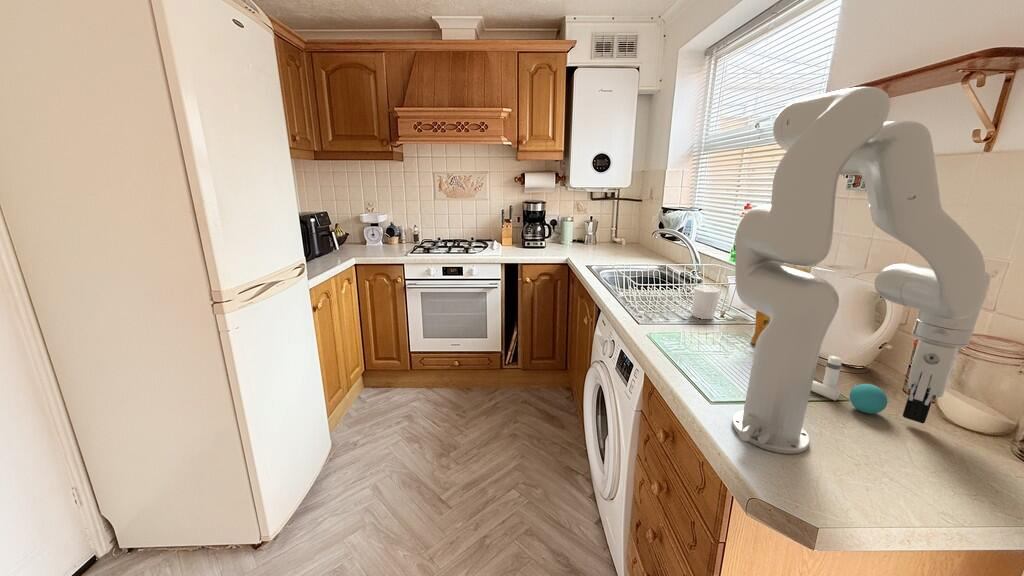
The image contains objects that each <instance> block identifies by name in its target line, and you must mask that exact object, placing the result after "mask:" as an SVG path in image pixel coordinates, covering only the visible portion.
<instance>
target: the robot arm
mask: <svg viewBox="0 0 1024 576" xmlns="http://www.w3.org/2000/svg"><path fill="white" fill-rule="evenodd" d="M890 110H891V98H890V96H889V94H888V93H887V92H886V91H885V90H884V89H881V88H880V87H879V88H878V87H874V86H857V87H851V88H845V89H844V88H843V89H840V90H836V91H831V92H827V93H821V94H819V95H818V94H817V95H814V96H809V97H804V98H801V99H797V100H795V101H792V102H791V103H788V104H787V105H786V106H785V107H783V108H782V109H781V110H780V111H779V112H778V114H777V115H776V117H775V119H774V122H773V128H772V129H773V131H772V132H773V136H774V140H775V142H776V143H777V145H779V147H780V148H782V149H783V150H784V151H785V152H786V153H784V155H783V156H782V158H781V159H780V162H779V163H778V166H777V168H776V170H775V172H774V175H773V180H772V191H771V200H770V204H762V205H759V206H755V207H754V208H752V209H750V210H749V211H748V212H747V213H746V214H745V215H744V216H743V217H742V219H741V221H740V222H739V224H738V226H737V229H736V232H735V233H736V234H735V242H734V244H735V245H734V246H735V250H734V251H735V252H734V255H735V256H734V260H735V261H734V265H735V266H734V267H735V269H734V274H735V275H734V278H735V280H734V282H735V290H736V294H737V297H738V298H739V300H740V301H741V302H742V303H743V304H744V305H745V306H747V307H749V308H751V309H752V310H754V311H759V312H761V313H763V314H765V315H766V316H768V317H770V322H769V324H768V325H767V326H766V328H765V329H764V330H763V331H762V332H761V334H760V335H759V337H758V339H757V342H756V344H755V346H754V352H753V353H754V354H753V359H752V363H751V368H750V369H751V370H750V373H749V380H748V384H747V385H748V386H747V390H746V394H745V395H746V396H745V400H744V401H745V402H744V407H743V410H741V411H738V412H735V414H734V415H733V416H732V420H731V425H732V427H733V430H734V431H735V432H736V434H738V437H739V438H740V440H742V441H743V442H749V443H750V444H752V445H753V446H756V447H758V448H760V449H764V450H765V451H770V452H774V453H778V454H783V455H784V454H789V455H794V454H800V453H803V452H805V451H807V449H809V446H810V443H811V441H810V436H809V434H808V432H807V431H806V430H805V429H804V428H803V425H804V421H805V416H806V413H807V408H808V403H809V400H810V396H811V392H812V391H811V387H812V383H813V380H814V379H815V374H816V370H817V369H816V368H817V365H818V364H817V363H818V361H819V357H820V353H821V349H822V345H823V343H824V340H825V338H826V335H827V333H828V330H829V329H830V326H831V325H832V324H833V321H834V319H835V317H836V315H837V313H838V309H839V306H840V298H839V294H838V291H837V290H836V288H835V287H834V286H833V285H832V284H831V283H830V282H829V281H827V280H825V279H824V278H823V277H820V276H818V275H817V274H816V275H813V274H810V273H807V272H804V271H800V270H797V269H794V268H790V267H786V266H784V263H785V264H789V265H794V266H801V267H806V266H813V265H816V266H817V265H818V264H820V263H822V261H824V260H825V259H826V258H827V257H828V255H829V253H830V251H831V247H832V242H833V234H834V222H835V209H836V208H835V207H836V195H837V188H838V187H837V186H838V181H839V178H840V175H841V176H862V177H863V180H864V181H863V182H864V185H865V190H866V193H867V199H868V206H869V212H870V216H871V221H872V222H873V224H874V225H875V227H878V228H879V230H882V231H883V232H884V233H885V234H887V235H889V236H890V237H892V238H893V239H895V240H898V241H899V242H901V243H903V244H904V245H906V246H908V247H909V248H911V249H912V250H913V251H915V252H916V253H918V254H919V255H920V256H921V257H922V258H923V259H924V260H925V261H926V262H927V263H928V265H921V264H916V263H908V262H906V263H903V262H902V263H896V264H891V265H889V266H887V267H885V268H883V269H881V271H880V272H878V273H877V275H876V277H875V279H874V285H873V286H874V288H875V291H876V292H877V294H878V295H879V296H880V297H882V299H884V300H887V301H889V302H891V303H894V304H897V305H899V306H904V307H907V308H909V309H912V310H913V309H914V310H917V314H916V317H915V320H914V325H913V328H912V331H911V336H913V338H914V339H915V338H916V339H918V341H917V345H916V348H915V351H914V355H913V359H912V361H911V366H910V371H909V375H908V380H907V388H908V389H909V390H911V391H910V395H908V398H907V400H906V403H905V407H904V409H903V413H902V417H903V418H905V419H908V420H912V421H914V422H916V423H917V422H918V423H920V424H925V423H926V420H927V417H928V414H929V411H930V408H931V406H932V402H931V400H932V397H933V396H936V398H938V399H939V398H943V397H944V395H945V392H946V389H947V387H948V384H949V380H950V378H951V375H952V372H953V369H954V366H955V364H956V363H955V362H956V360H957V357H958V353H959V349H965V348H968V347H969V344H970V342H971V339H972V336H973V334H974V330H975V327H976V324H977V322H978V319H979V315H980V313H981V310H982V306H983V305H984V302H985V300H986V297H987V292H988V289H989V286H990V283H991V275H990V274H989V272H987V271H986V264H985V263H986V262H985V259H984V256H983V254H982V251H981V250H980V248H979V245H977V244H976V242H975V241H974V240H973V238H971V236H970V235H969V234H968V233H967V232H966V231H965V230H964V229H963V227H962V226H960V225H959V224H958V222H956V221H955V220H954V218H953V217H951V216H950V215H948V213H946V212H945V211H944V208H943V207H942V203H941V196H940V190H939V187H940V186H939V181H938V174H937V167H936V160H935V152H934V145H933V139H932V135H931V132H930V130H929V129H928V128H927V126H926V125H924V124H923V123H920V122H917V121H913V120H894V121H887V120H888V117H889V114H890Z"/></svg>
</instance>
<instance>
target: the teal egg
mask: <svg viewBox="0 0 1024 576" xmlns="http://www.w3.org/2000/svg"><path fill="white" fill-rule="evenodd" d="M849 401H850V403H851V405H852V406H853V407H854V408H855V409H857V410H858V411H860V412H862V413H865V414H873V415H874V414H879V413H881V412H883V411H884V410H885V409H886V407H887V405H888V397H887V395H886V393H885V392H884V391H883V390H882V389H881V388H880V387H878V386H877V385H874V384H871V383H860V384H857V385H855V386H854V387H853V388H852V389H851V390H850V392H849Z"/></svg>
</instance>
